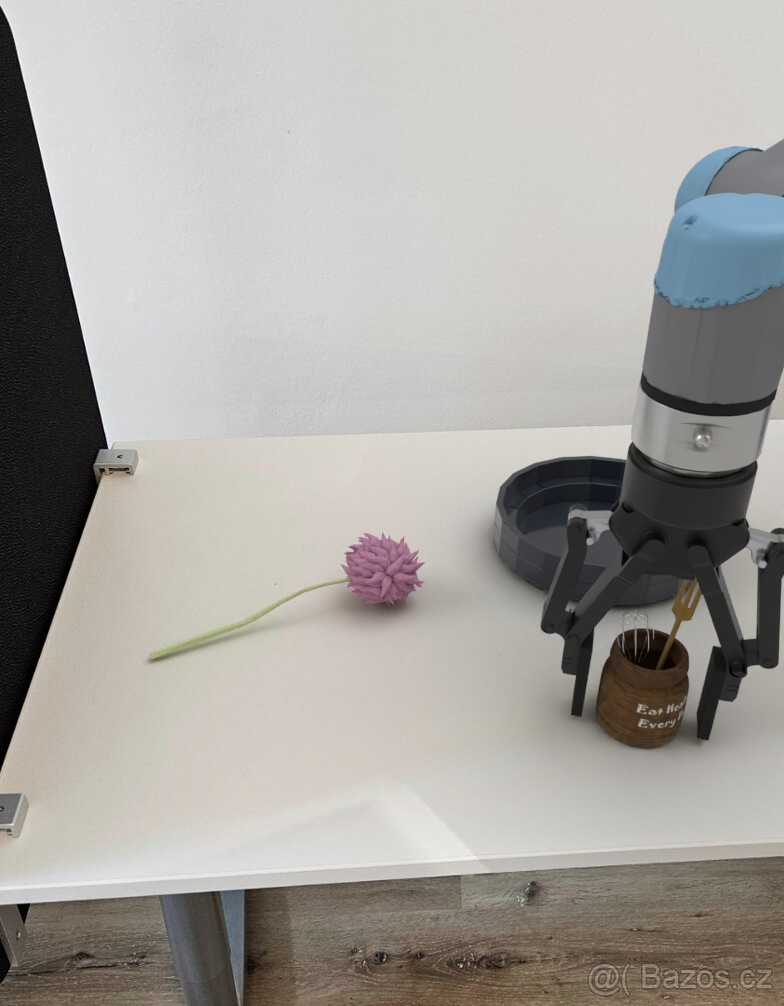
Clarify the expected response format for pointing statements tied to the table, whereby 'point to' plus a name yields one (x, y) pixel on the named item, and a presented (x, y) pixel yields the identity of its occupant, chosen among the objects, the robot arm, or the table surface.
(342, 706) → the table surface
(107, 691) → the table surface
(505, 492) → the bowl
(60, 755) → the table surface
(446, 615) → the table surface
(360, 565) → the artificial flower
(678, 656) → the utensil holder
